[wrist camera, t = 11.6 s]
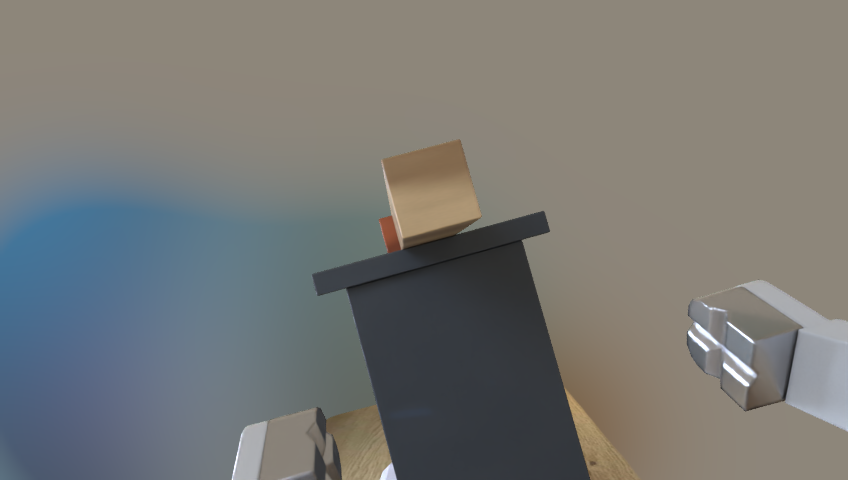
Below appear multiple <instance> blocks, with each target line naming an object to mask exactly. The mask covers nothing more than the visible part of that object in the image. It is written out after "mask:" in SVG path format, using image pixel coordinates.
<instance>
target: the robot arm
mask: <svg viewBox="0 0 848 480" xmlns="http://www.w3.org/2000/svg"><path fill="white" fill-rule="evenodd" d="M688 316H689V317H690V318H691V319H692V320H693V321H694V322H693V324H692V325H691V327H690V328H689V330H688V331H687V346H688V348H689V351H690V354H691V356H692V358H693V359H694V361H695V362H696V364H697V365H698V366H699V367H700V368H701V369H702V370H703V371H704V372H705V373H706V374H709V375H712V376H714V377H717V378H719V379H720V384H721V389H722V390H723V391H724V392H725V393H726V394H727V395H728V396H729V397H730V398H732V399H733V400H734V401H735V402H736V403H737V404H738V405H739V406H740V407H741V408H742V409H743V410H744V411H748V410H752V409H756V408H759V407H763V406H767V405H770V404H774V403H778V402H781V401H785V403H787V404H789V405H791V406H793V407H796V408H798V409H800V410H802V411H805V412H807V413H809V414H811V415H813V416H815V417H817V418H820V419H822V420H824V421H826V422H828V423H830V424H833V425H835V426H837V427H839V428H841V429H844V430H846V431H848V321H845V320H841V319H834V320H828V319H827V318H825V317H823V316H821V315H820V314H819V313H817V312H815V311H814V310H812V309H810V308H809V307H807V306H806V305H804V304H802V303H801V302H799V301H798V300H796V299H794V298H793V297H791V296H789V295H788V294H786V293H785V292H783V291H781V290H780V289H778V288H776V287H775V286H773V285H771V284H770V283H768V282H766V281H763V280H755V281H752V282H749V283H746V284H742V285H739V286H736V287H734V288H730V289H727V290H723V291H720V292H716V293H713V294H709V295H706V296H703V297H699V298H696V299H693V300H692V301H691V302H690V304H689V309H688ZM232 480H342V476H341V464H340V458H339V452H338V449H337V445H336V442H335V440H334V437H333V435H332V434H330V433H328V432H326V419H325V416H324V414H323V413H322V410H321V409H320V408H318V407H316V408H312V409H308V410H305V411H301V412H297V413H293V414H289V415H286V416H282V417H278V418H274V419H271V420H269V421H265V422H261V423H257V424H253V425H249V426H246V428H245V429H244V430H243V432H242V435H241V440H240V444H239V449H238V453H237V458H236V463H235V468H234V472H233V477H232Z"/></svg>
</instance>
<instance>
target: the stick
mask: <svg viewBox="0 0 848 480" xmlns="http://www.w3.org/2000/svg"><path fill="white" fill-rule="evenodd" d="M381 162H382V167H383V173H384V177H385V182H386V188H387V193H388V198H389V203H390V209H391V214H392V216H388V217H385V218H381V219H379V222H380V226H381V230H382V233H383V237H384V240H385V244H386V248H387V252H388V253H391V252H395V251H398V250H402V249H406V248H409V247H413V246H417V245H420V244H424V243H428V242H431V241H435V240H439V239H442V238H446V237H450V236H453V235H456V234H457V233H459V232H460V231H462V230H463V229H465V228H466V227H468V226H469V225H471V224H472V223H474V222H475V221H477V220H478V219H480V218H481V217H482V215H481V211H480V208H479V204H478V201H477V197H476V194H475V190H474V186H473V183H472V180H471V176H470V172H469V169H468V165H467V162H466V158H465V155H464V151H463V148H462V144H461V141H460V140H459V139H458V140H454V141H450V142H446V143H443V144H439V145H435V146H431V147H427V148H423V149H419V150H416V151H412V152H408V153H404V154H401V155H396V156H393V157H389V158H385V159H382V161H381Z"/></svg>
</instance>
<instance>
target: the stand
mask: <svg viewBox="0 0 848 480" xmlns="http://www.w3.org/2000/svg"><path fill="white" fill-rule="evenodd" d="M548 232H550V230H549V226H548V222H547V219H546V216H545V212H544V211H541V212H538V213H534V214H530V215H527V216H523V217H519V218H516V219H512V220H508V221H505V222H501V223H497V224H494V225H490V226H486V227H483V228H479V229H475V230H472V231H468V232H464V233H461V234H457V235H453V236H450V237H446V238H442V239H439V240H435V241H431V242H428V243H424V244H420V245H417V246H413V247H409V248H406V249H402V250H398V251H395V252H391V253H387V254H384V255H380V256H376V257H373V258H369V259H365V260H362V261H358V262H354V263H351V264H347V265H343V266H340V267H337V268H333V269H329V270H325V271H321V272H318V273H314V274H312V279H313V282H314V286H315V290H316V294H317V295H318V296H320V295H323V294H327V293H330V292H334V291H338V290H341V289H345V288H346V291H347V294H348V298H349V302H350V306H351V310H352V313H353V317H354V321H355V325H356V328H357V332H358V336H359V339H360V343H361V347H362V350H363V355H364V358H365V362H366V366H367V369H368V373H369V377H370V381H371V385H372V388H373V392H374V396H375V400H376V404H377V407H378V411H379V415H380V419H381V422H382V426H383V430H384V434H385V437H386V441H387V445H388V449H389V452H390V456H391V460H392V464H393V467H394V471H395V475H396V479H397V480H590V477H589V473H588V470H587V466H586V463H585V459H584V456H583V452H582V449H581V445H580V442H579V438H578V435H577V431H576V428H575V424H574V421H573V417H572V414H571V410H570V407H569V403H568V400H567V396H566V393H565V389H564V386H563V382H562V379H561V376H560V372H559V368H558V365H557V361H556V358H555V354H554V351H553V347H552V344H551V340H550V337H549V334H548V330H547V326H546V323H545V319H544V316H543V312H542V309H541V306H540V302H539V299H538V295H537V292H536V288H535V284H534V281H533V277H532V274H531V271H530V267H529V263H528V260H527V256H526V253H525V249H524V246H523V242H522V240H523V239H526V238H530V237H533V236H537V235H541V234H544V233H548Z"/></svg>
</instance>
